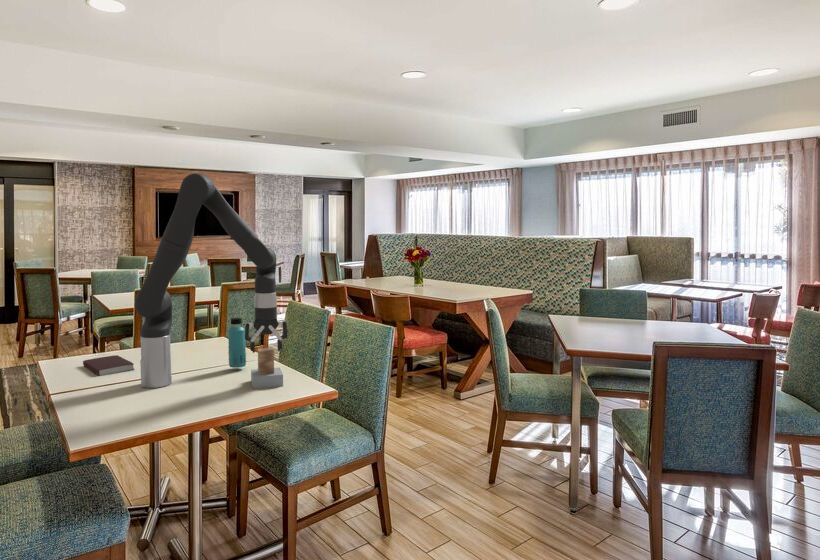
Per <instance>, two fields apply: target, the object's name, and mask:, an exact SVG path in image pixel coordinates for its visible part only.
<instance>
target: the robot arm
mask: <svg viewBox="0 0 820 560" xmlns="http://www.w3.org/2000/svg"><path fill="white" fill-rule="evenodd" d="M175 202H176V203H175V206H174V208H173V211H172V213H171V215H170V218H169V221H168V223H167V225H166V227H165V230H164V232H163V235H162V237H161V239H160V241H159V244H158V246H157V250H156V253H155V256H154V258H153V260H152V263H151V266H150V267H149V268H150V269H149V271H148V274H147V275H146V277H145V278H146V279H144V282H143V284H142V286H141V288H140V289H139V291H138V293H137V296H136V298H135V302H134V308H135V310H136V313H137V314H138V315H139V316H141V317H143V318H144V322H143V324H142V325H141V326H140V329H139V331H140V332H139V334H140V335H139V336H140V337H139V338H140V339H139V340H140V357H141V358H140V361H139V363H140V365H139V366H140V383H141V384H140V386H141V388H148V389H152V388H155V389H156V388H162V387H167V386H169V385H171V384H172V355H171V354H172V353H171V349H172V348H171V328H172V324H173V301H172V297H171V295H170V293H169V292H168V291H167V288H168V286H169V285H170V282H171V281H172V278H174V276H175V275H176V274H177V272H178V271H179V269H180V268H181V267H182V265H183V264H184V262H185V260H186V258H187V257H188V255H189V251H190V249H191V246H192V243H193V239H194V234H195V224H196V221H197V220H196V219H197V216H198V213H199V212H200V210H201V208H202V205H203V206H204V207H205V208H207V209H208V211H209V212H211V213H212V214H213V215H214V216H215V218H216V219H217V221H219V223H220V225H221V226H222V228H223V229H224V230H225V232H226V233H227V234H228V236H229V237H230V238H231V239H232V240H233V241H234V242H235V243H236V244H237V245H238V246H239V247H240V248H241V249H242V250H243V252H244V253H245V254H246V255H247V257H248V258H249V259H250V261H251V262H252V263H253V264H254V265H255V267H256V270H255V273H256V275H255V278H254V298H253V301H254V302H253V305H254V321H253V322H248V321H247V322H245V323H244V329H245V342H246V341H248V342H249V344H250V345H249V348H250V352H252V353H253V354H254V353H256V344H255V340H256V339H257V338H258V337H259V336H260V335H261V336H264V335H272V334H273V335H274V336H275V337H276V338H277V344H276V345H277V352H280V351H281V350H282V349H283V341H284V340H285V339H287V338H288V328H287V325H288V324H287V322H286V320H282V321H278V302H277V301H278V298H277V297H278V296H277V289H276V288H277V283H276V282H277V281H276V271H277V255H276V252H275V251H274V250H273V249H272V248H271V247H267V246H266V245H265V244H264V242H262V240H261V239H260V238H259V236H258V234H257V233H256V231H254V230H253V228H252V227H250V226H249V224H248V223H247V222H246V220H244V219H243V218H242V217H241V216H240V215H239V214H238V213H237V212H236V210H234V208H233V207H232V206H231V205H230V204H229V202H227V200H226V199H225V197H224V195H222V193H221V192H220V190H219V189H218V187H217V186H216V184H215V183H214V181H213V179H212V178H211V177H209V176H208V175H205V174H203V173H197V172H196V173H190V174H188V175H186V176H185V177H184V178H183V180H182V181H181V185H180V187H179V191H178V194H177V199H176V201H175ZM278 326H280V328H282V334H280V333H279V331H277V330H276V329H277V328H278ZM252 327H254V329H255V331H254V332H253V334H252V336H250V330H252Z"/></svg>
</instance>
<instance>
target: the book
mask: <svg viewBox="0 0 820 560" xmlns="http://www.w3.org/2000/svg"><path fill="white" fill-rule="evenodd" d="M82 365H83V367H85V368H86V369H88V370H89V371H91V372H92V373H93V374H95V375H97V376H98V377H101V376H107V375H115V374H119V373H125V372H131V371H135V368H134V363H133V362H132V361H130V360H128V359H126V358H124V357H122V356H120V355H108V356H101V357H95V358H91V359H85V360H83V361H82Z"/></svg>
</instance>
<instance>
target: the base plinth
mask: <svg viewBox="0 0 820 560" xmlns="http://www.w3.org/2000/svg"><path fill="white" fill-rule="evenodd" d="M250 381H251V382H250V383H251V385H252V389H264V388H275V387H283V386H284V374H283V372H282V370H281V367H274V374H261V375H259V372H258V368H256V369H253V368H252V369H250Z"/></svg>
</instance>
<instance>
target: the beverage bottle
mask: <svg viewBox="0 0 820 560" xmlns="http://www.w3.org/2000/svg"><path fill="white" fill-rule="evenodd" d="M242 324H243V320H242V317H232V318H231V319H230V325H234V326H230V328H228V329H227V332H228V333H227V334H228V335H227V336H228V337H227V339H228V340H227V341H228V347H227V348H228V353H227V354H228V366H229V367H230V368H232V369H234V368H237V369H238V368H243V367H246V365H247V351H246V350H247V349H246V347H247V346H246V344H247V343H246V340H245V327H243V326H241V325H242Z"/></svg>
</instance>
